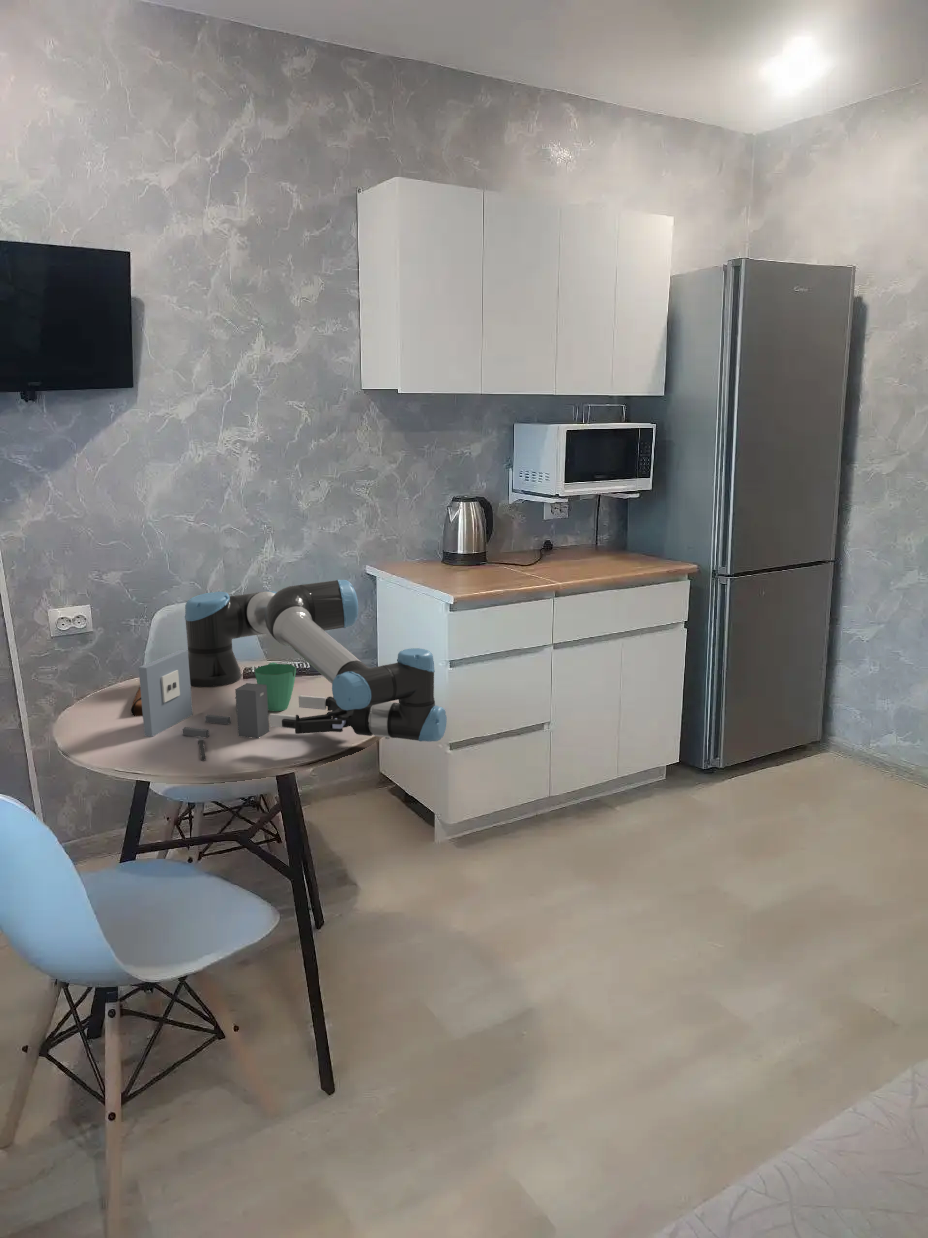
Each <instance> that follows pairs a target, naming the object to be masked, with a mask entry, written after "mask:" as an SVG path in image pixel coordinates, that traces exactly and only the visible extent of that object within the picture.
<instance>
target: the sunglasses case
mask: <svg viewBox="0 0 928 1238" xmlns="http://www.w3.org/2000/svg"><path fill="white" fill-rule="evenodd" d="M130 713H131V715H132V716H133V717H143V712H142V701H141V690H140V686H139V688H138V690H137V691H136V694H135V696H134V699H133V701H132V704H131V709H130Z"/></svg>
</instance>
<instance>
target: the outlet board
mask: <svg viewBox="0 0 928 1238" xmlns="http://www.w3.org/2000/svg"><path fill="white" fill-rule="evenodd" d="M138 675H139V676H138V677H139V687H140V690H141V701H142V712H143V716H142V721H143V722H142V723H143V735H144V737H149V738H150V737H151V738H152V737H155V736H156V735H158V734H160V733H162V732H163V731H166V730H167V729H169V728H171V727H173V726H174V725H177V724H178V723H180V722H182V721H184V720H186V719H188V718H189V717H191V716H193V701H192V700H193V699H192V686H190V672H189V659H188V649H187V650H186V649H179V650H177V651H174V652H172V653H170V654H166V655H164V656H163V657H160V658H158V659H155V660H153V661H151V662H148V663H146V664H143V665H141V666H138ZM231 721H232V719H231V716H226V715H215V714H205V716H204V722H205V723H209V724H221V725H230V724H231ZM181 733H182V735H183V736H189V737H197V738H198V737H204V738H208V737H209V736H210V730H209V729H208V728H197V727H186V726H185V727H183V728H182V731H181Z"/></svg>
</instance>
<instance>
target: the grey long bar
mask: <svg viewBox="0 0 928 1238" xmlns="http://www.w3.org/2000/svg"><path fill="white" fill-rule="evenodd" d="M204 738H205V737H197V743H198V745H199V753H200V761H206V760H207V758H206V757H207V756H206V750H205V739H204Z"/></svg>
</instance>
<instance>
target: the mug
mask: <svg viewBox="0 0 928 1238" xmlns="http://www.w3.org/2000/svg"><path fill="white" fill-rule="evenodd" d="M296 673H297V667H296V666H295V665H292V664H288V663H277V662H269V663H268V664H265V665H261V666H258V667H257V668H255V669H254V674H255V675H254V676H255V680H256V684H263V685H267V701H268V712H269V711H270V712H282V711H285V710H287V709H288V708H289V704H290V701H291V698H292V695H293V691H294V687H295V679H296Z"/></svg>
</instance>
